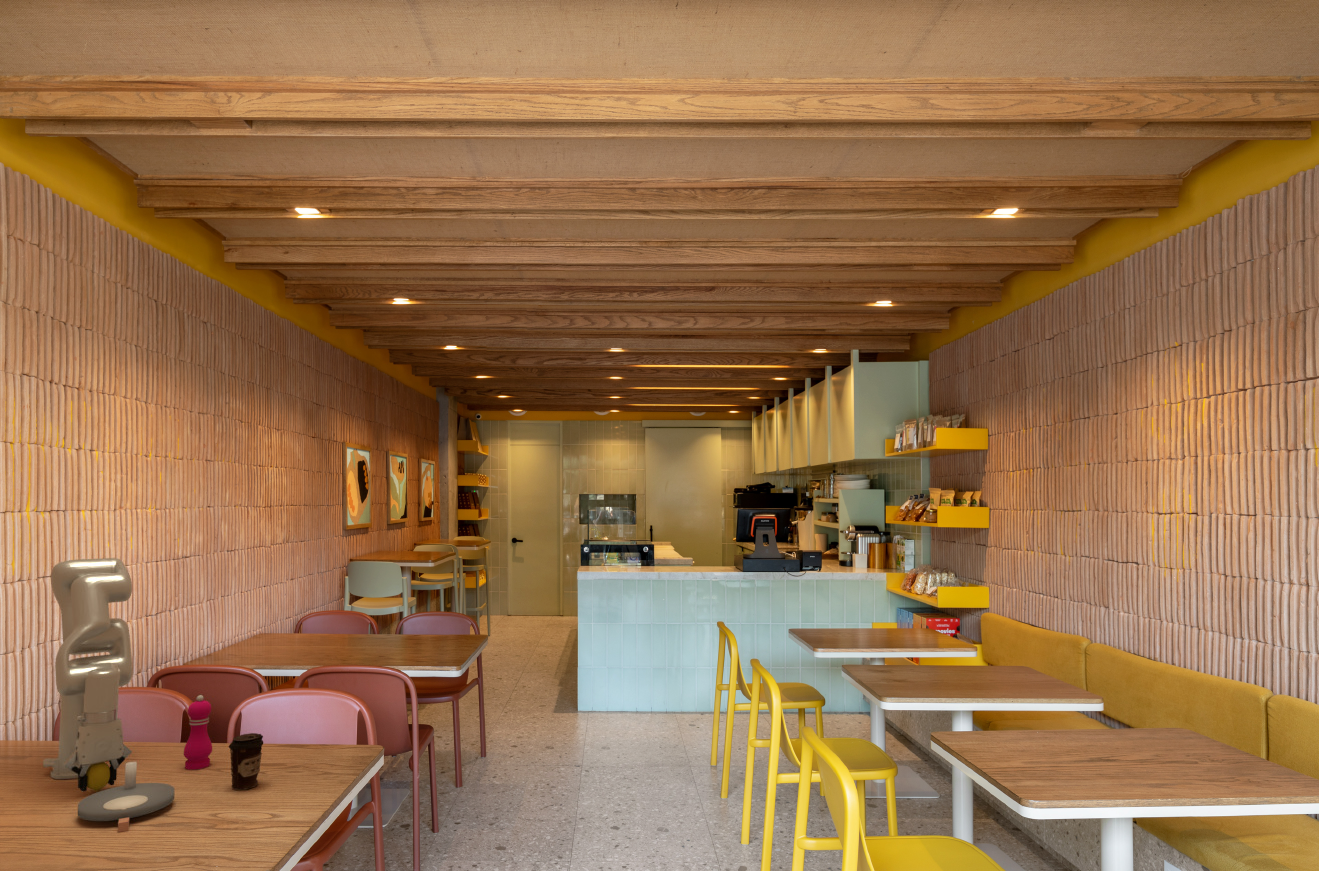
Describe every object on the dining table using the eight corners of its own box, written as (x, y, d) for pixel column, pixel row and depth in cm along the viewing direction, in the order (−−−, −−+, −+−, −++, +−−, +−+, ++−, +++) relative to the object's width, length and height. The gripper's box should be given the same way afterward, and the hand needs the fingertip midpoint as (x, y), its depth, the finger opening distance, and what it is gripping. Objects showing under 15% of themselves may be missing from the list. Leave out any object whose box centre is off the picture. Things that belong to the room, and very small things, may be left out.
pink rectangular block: (118, 827, 194) (119, 818, 194) (128, 826, 195) (129, 817, 195) (117, 832, 191) (118, 823, 191) (128, 830, 192) (128, 821, 192)
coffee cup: (270, 783, 224) (272, 733, 225) (245, 793, 216) (247, 742, 217) (245, 779, 227) (246, 730, 228) (220, 789, 219) (221, 739, 220)
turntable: (91, 828, 190) (93, 792, 190) (67, 806, 203) (68, 772, 204) (186, 803, 205) (187, 770, 205) (158, 785, 218) (159, 754, 219)
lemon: (91, 788, 220) (93, 757, 220) (113, 787, 220) (115, 756, 221) (79, 795, 214) (80, 764, 215) (101, 795, 215) (103, 763, 215)
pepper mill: (217, 762, 241) (219, 692, 243) (201, 770, 234) (203, 698, 235) (193, 762, 242) (196, 692, 243) (177, 770, 235) (180, 697, 236)
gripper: (65, 726, 210) (62, 799, 208) (142, 712, 223) (139, 782, 221) (57, 720, 215) (53, 792, 213) (132, 708, 228) (129, 775, 226)
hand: (97, 786), depth 217 cm, fingers closed on lemon, 5 cm apart
